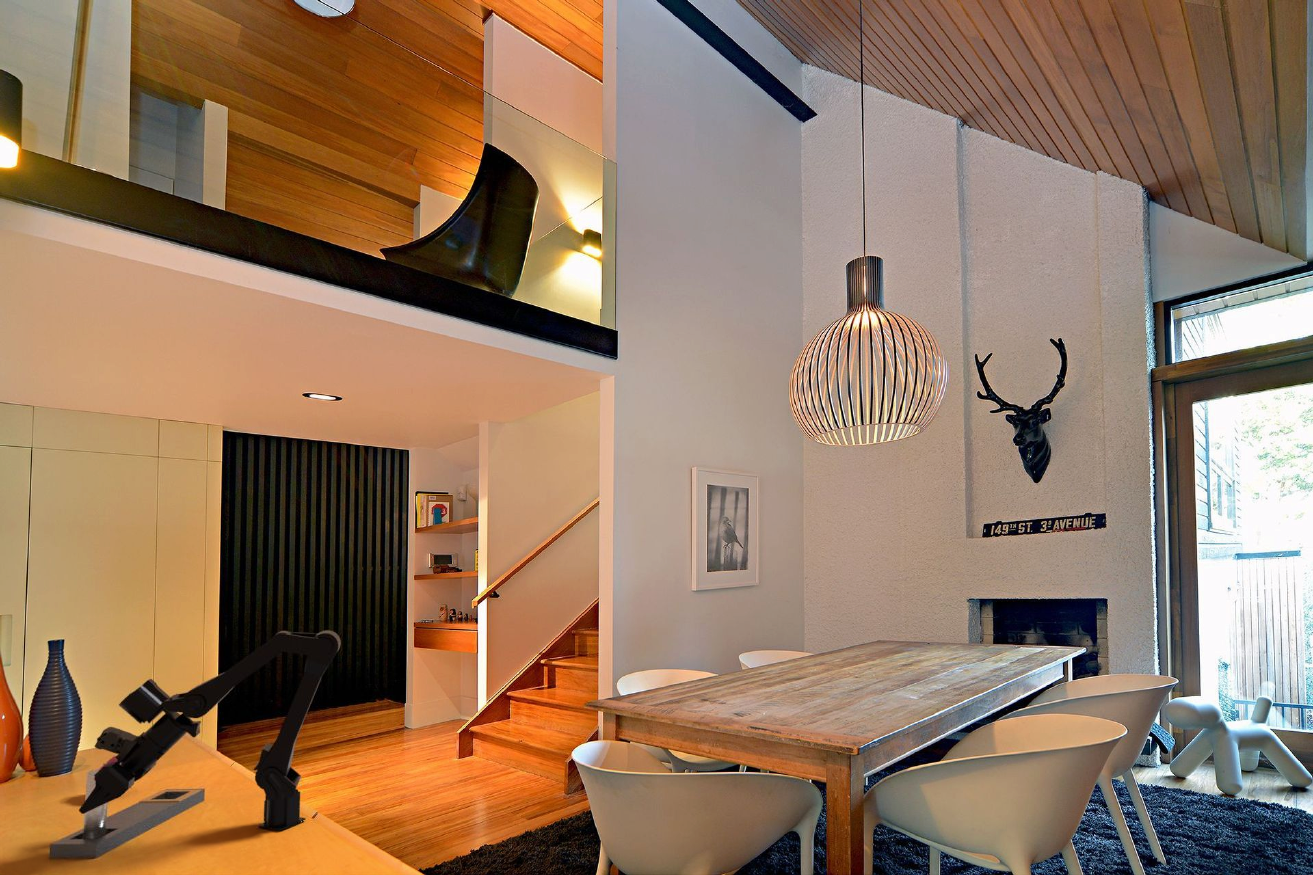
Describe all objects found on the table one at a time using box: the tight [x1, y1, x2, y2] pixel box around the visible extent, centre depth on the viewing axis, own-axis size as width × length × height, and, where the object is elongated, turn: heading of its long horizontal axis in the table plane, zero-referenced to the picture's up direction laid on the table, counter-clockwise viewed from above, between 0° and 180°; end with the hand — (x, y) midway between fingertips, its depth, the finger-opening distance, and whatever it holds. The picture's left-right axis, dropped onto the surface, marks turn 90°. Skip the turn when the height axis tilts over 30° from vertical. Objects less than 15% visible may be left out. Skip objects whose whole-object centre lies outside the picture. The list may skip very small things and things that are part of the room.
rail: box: [48, 788, 206, 859], centre depth 164 cm, size 33×9×3 cm, turn 178°
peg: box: [82, 768, 109, 839], centre depth 153 cm, size 4×4×14 cm
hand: (89, 804), depth 153 cm, fingers open, 9 cm apart
